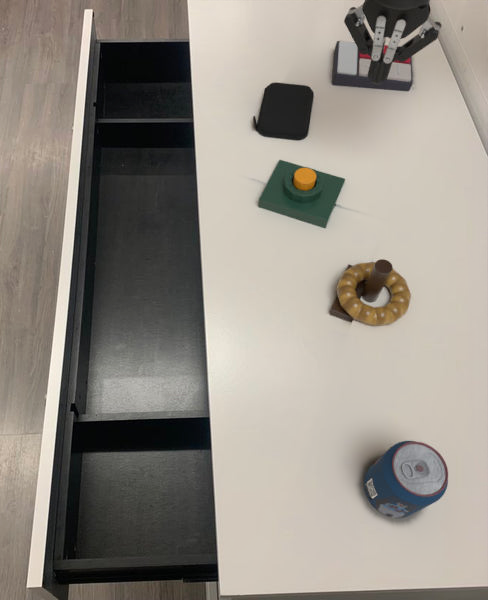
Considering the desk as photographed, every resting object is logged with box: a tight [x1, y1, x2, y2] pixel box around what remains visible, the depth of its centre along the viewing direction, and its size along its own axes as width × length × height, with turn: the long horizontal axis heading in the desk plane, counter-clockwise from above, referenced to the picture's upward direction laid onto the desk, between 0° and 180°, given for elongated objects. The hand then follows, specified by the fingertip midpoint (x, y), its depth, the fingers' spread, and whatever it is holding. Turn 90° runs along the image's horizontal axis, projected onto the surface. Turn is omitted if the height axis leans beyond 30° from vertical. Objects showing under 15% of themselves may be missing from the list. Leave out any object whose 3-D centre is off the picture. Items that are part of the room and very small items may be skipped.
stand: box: [328, 258, 394, 324], centre depth 77 cm, size 9×9×10 cm
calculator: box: [331, 40, 414, 92], centre depth 106 cm, size 11×4×15 cm
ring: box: [336, 261, 412, 326], centre depth 78 cm, size 10×10×3 cm
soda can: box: [363, 440, 449, 519], centre depth 62 cm, size 7×7×12 cm
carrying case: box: [252, 82, 315, 141], centre depth 101 cm, size 11×3×15 cm
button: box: [293, 167, 316, 191], centre depth 88 cm, size 4×4×2 cm
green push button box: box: [257, 159, 346, 229], centre depth 90 cm, size 12×10×4 cm
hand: (376, 80), depth 78 cm, fingers closed
